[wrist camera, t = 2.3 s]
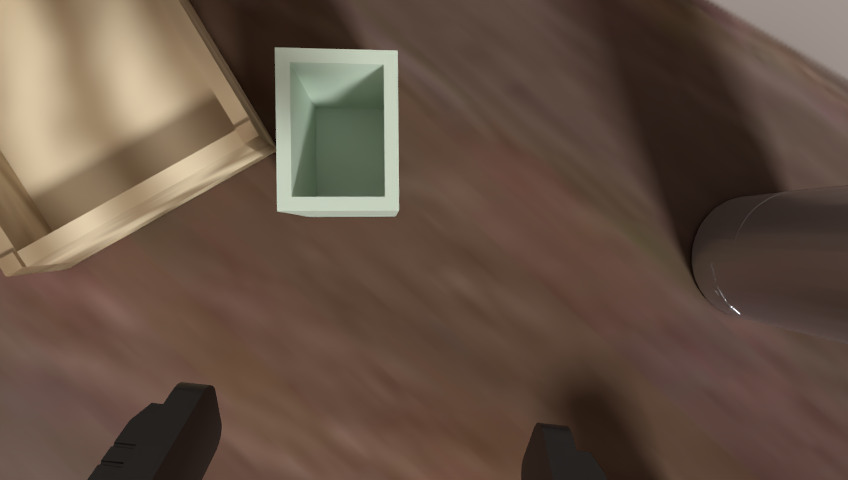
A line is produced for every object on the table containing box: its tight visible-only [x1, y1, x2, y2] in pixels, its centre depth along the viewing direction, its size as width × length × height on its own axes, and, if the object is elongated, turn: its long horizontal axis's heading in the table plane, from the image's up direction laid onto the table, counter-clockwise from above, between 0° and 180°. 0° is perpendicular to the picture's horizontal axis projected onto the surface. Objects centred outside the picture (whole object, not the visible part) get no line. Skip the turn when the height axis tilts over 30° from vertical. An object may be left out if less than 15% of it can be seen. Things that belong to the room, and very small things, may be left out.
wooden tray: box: [0, 0, 276, 276], centre depth 27 cm, size 16×18×5 cm
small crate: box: [275, 47, 399, 217], centre depth 27 cm, size 6×8×9 cm
